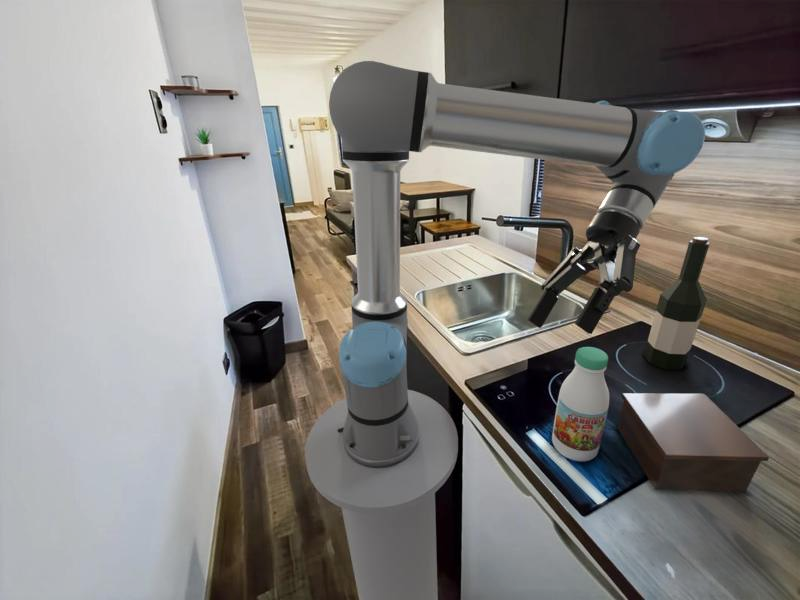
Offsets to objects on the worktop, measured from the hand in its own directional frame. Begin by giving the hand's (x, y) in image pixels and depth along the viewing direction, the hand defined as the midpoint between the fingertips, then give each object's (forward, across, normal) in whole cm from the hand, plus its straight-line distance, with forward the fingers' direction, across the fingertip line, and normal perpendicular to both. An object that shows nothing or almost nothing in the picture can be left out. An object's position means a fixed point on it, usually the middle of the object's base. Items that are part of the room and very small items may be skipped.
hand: (555, 326), depth 60 cm
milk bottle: (+15, +5, -18) cm, 24 cm away
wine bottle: (-15, +21, -40) cm, 48 cm away
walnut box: (+7, -1, -31) cm, 32 cm away
